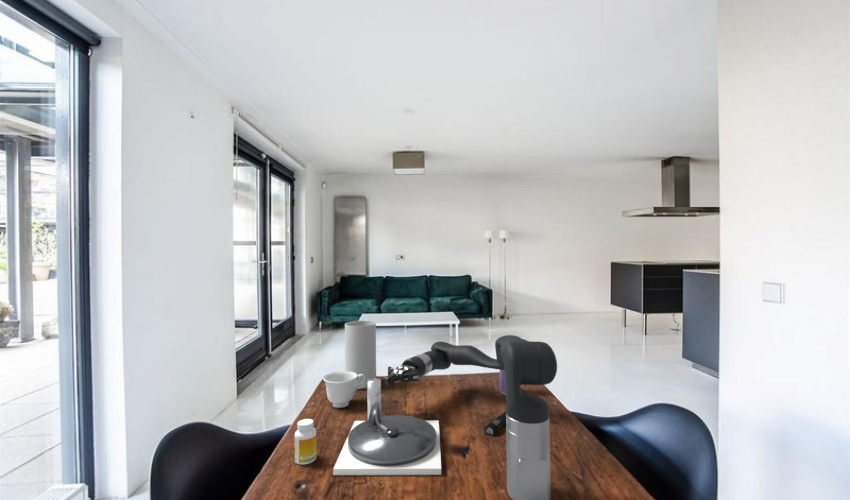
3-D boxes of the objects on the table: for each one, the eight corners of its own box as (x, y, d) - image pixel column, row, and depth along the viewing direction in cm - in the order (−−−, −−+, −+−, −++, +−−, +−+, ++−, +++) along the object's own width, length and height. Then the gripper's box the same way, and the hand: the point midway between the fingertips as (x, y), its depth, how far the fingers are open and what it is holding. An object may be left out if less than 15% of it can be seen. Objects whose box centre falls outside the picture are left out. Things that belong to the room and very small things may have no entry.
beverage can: (497, 394, 141) (497, 354, 141) (502, 388, 146) (501, 350, 146) (513, 396, 138) (513, 356, 138) (517, 391, 143) (517, 352, 143)
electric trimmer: (515, 419, 120) (515, 409, 120) (494, 438, 107) (494, 427, 108) (504, 416, 122) (504, 406, 122) (483, 434, 110) (483, 423, 110)
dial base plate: (441, 474, 89) (441, 467, 89) (333, 475, 90) (333, 467, 90) (438, 425, 115) (438, 419, 115) (354, 425, 116) (354, 419, 116)
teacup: (369, 407, 130) (369, 378, 130) (325, 414, 124) (325, 384, 125) (362, 395, 141) (361, 368, 141) (321, 401, 136) (321, 373, 136)
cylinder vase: (343, 381, 157) (343, 321, 157) (373, 378, 161) (373, 319, 161) (346, 391, 145) (346, 327, 145) (378, 387, 149) (378, 325, 149)
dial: (436, 465, 90) (436, 407, 91) (338, 466, 91) (337, 408, 91) (435, 421, 114) (434, 375, 115) (357, 421, 115) (357, 376, 115)
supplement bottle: (320, 457, 98) (320, 420, 98) (304, 467, 93) (304, 428, 93) (306, 452, 100) (306, 415, 101) (290, 461, 96) (289, 423, 96)
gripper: (433, 380, 127) (403, 397, 113) (402, 374, 134) (370, 389, 120) (433, 358, 127) (403, 373, 113) (402, 353, 135) (370, 366, 120)
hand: (386, 381), depth 116 cm, fingers closed
